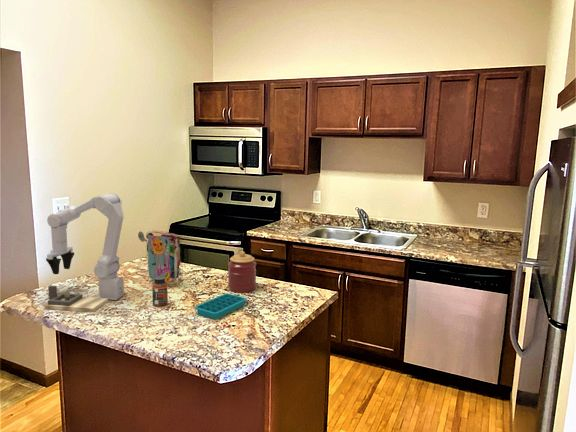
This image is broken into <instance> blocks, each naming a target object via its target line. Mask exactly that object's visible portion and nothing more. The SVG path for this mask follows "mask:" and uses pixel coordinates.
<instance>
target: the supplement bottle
mask: <svg viewBox="0 0 576 432" xmlns="http://www.w3.org/2000/svg"><path fill="white" fill-rule="evenodd" d="M151 286H152V287H151V290H152V291H151V292H152V293H151V294H152V295H151V296H152V306H154V307H164V306H166V305H167V304H168V294H169V293H168V287H167V286H168V282H165V277H156V278H155V281H153V282H152V284H151Z"/></svg>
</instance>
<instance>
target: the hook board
mask: <svg viewBox="0 0 576 432" xmlns="http://www.w3.org/2000/svg"><path fill="white" fill-rule="evenodd" d="M63 293H64V298H63V299H61V300H65V301H68V300H70V294H71V293H70V292H69V291H67V292H63ZM108 302H109V300H108V298H95V297H91V296H90V297H88V296H83V298H82V299H80V300H78V301H77V302H75V303H73V304H72V305H70V306H63V305H48V303H46V304H44V310H56V311H69V312H72V311H73V312H85V313H87V312H88V313H94V312H95V311H97V310H98V309H100V308H101V307H103V306H104V305H105V304H107V303H108Z"/></svg>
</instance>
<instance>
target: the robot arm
mask: <svg viewBox="0 0 576 432" xmlns="http://www.w3.org/2000/svg"><path fill="white" fill-rule="evenodd" d="M122 203H123V201H122V199H121V197H120V196H119V195H118V194H117V193H115V192H113V193H112V192H111V193H108V194H102V195H101V194H100V195H97V196H94V197H91V198H90V199H88V200H86V201H84V202H82V203H80V204H79V205H77V206H76V205H73V204H72V205H69V204H68V205H66V206H65V208H64V209H60V210H58V211H57V213H51V214H49V215H48V216H47V218H46V220H47V224H48V226H49V227H50V231H51V232H50V233H51V245H52V246H51V247H52V248H51V250H50V252H49V253H48V254H46V258H45V261H46V262H47V264H48V265H49V267H50V269H51V272H52V274H53V275H59V274H60V263H61V260H62V265H63V269H64V270H70V268H71V264H72V261H73V260H72V259H73V258H74V256H75V252H73V251H74V250H73V246H68V234H67V232H68V231H67V228H68V224H69V223H71V222H72V221H74V220H77V219H79V218H80V217H81V215H82V213H84V212H86V211H89V210H91V209H93V210H94V209H96V210H97V211H98V212H100V213H101V214H102V215H104V216H105V217H106V218H107V219H108V222H107V227H106V232H105V237H104V243H103V248H102V254H101V256H99V258H98V260H97V263H96V264H95V266H94V268H93V273H94V275H95V276H96V278H97V279H98V295H96V296H95V297H94V298H108V301H116V300H117V301H118V299H120V298H121V297H122V296H124V295H125V294H126V293H125V289H124V287H125V286H124V285H125V284H124V283H125V282H124V279H123V277H121V276H118V272H119V270H120V268H121V266H120V257H118V255H117V254H118V248H119V243H120V237H121V232H122V228H123V227H122V226H123V221H124V212H123V208H122ZM58 257H60V258H58Z"/></svg>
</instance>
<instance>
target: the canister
mask: <svg viewBox="0 0 576 432" xmlns="http://www.w3.org/2000/svg"><path fill="white" fill-rule="evenodd" d="M227 266H228V270H227V271H228V272H227V275H228V278H227V280H228V281H227V287H228V290H229V291H231V292H235V293H249V292H253V291H254V290H256V287H257V269H256V266H257V262H256V261H255V257H254V256H252V255H251V254H246V252H245V251H243V250H242V251H239V253H238V254H234V255H232V256H231V257H230V258H229V262H228V264H227Z"/></svg>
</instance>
